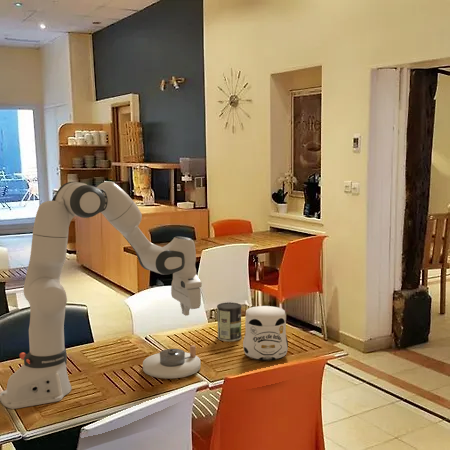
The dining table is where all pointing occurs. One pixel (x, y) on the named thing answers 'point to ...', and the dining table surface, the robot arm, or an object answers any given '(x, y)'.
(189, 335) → the dining table surface
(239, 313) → the coffee can
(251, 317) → the milk container
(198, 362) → the crank wheel
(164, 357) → the iron cover
